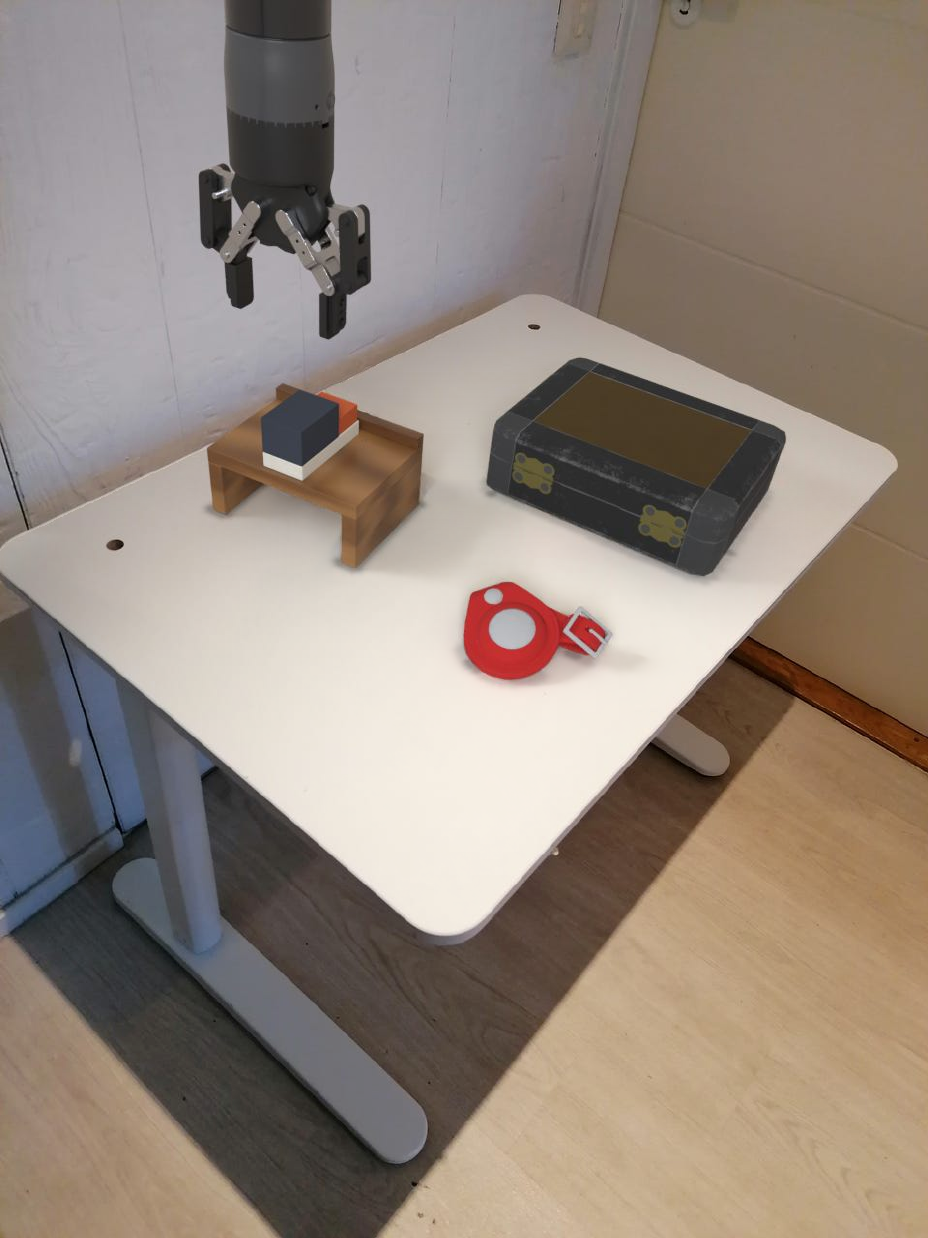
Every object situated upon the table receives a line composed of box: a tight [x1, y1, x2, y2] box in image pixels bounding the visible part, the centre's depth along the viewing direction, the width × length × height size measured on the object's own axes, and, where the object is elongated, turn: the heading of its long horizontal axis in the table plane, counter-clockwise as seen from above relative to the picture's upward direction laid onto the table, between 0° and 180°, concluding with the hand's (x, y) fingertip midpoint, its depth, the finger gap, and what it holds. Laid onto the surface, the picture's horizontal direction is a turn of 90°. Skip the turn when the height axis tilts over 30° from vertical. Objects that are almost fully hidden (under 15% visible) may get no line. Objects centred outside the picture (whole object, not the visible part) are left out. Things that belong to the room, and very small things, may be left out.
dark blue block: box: [261, 389, 359, 481], centre depth 88 cm, size 10×4×5 cm, turn 153°
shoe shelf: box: [206, 382, 425, 569], centre depth 92 cm, size 12×16×8 cm
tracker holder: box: [463, 581, 614, 681], centre depth 83 cm, size 12×4×10 cm
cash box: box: [486, 356, 787, 577], centre depth 100 cm, size 25×20×8 cm
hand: (286, 319), depth 79 cm, fingers open, 8 cm apart
